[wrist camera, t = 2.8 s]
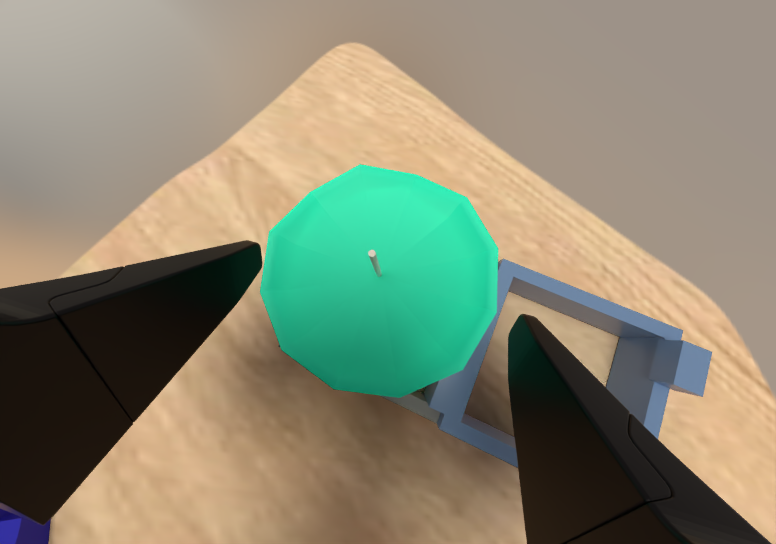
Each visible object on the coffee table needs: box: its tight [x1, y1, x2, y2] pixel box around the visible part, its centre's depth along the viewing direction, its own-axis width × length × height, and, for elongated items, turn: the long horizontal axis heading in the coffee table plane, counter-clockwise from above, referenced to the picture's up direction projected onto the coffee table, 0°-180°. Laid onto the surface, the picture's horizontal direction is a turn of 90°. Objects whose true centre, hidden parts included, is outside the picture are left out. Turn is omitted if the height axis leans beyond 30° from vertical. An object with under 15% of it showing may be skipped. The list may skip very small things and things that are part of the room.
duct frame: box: [279, 259, 712, 468], centre depth 15 cm, size 18×9×4 cm, turn 66°
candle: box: [260, 164, 498, 398], centre depth 11 cm, size 6×6×12 cm
